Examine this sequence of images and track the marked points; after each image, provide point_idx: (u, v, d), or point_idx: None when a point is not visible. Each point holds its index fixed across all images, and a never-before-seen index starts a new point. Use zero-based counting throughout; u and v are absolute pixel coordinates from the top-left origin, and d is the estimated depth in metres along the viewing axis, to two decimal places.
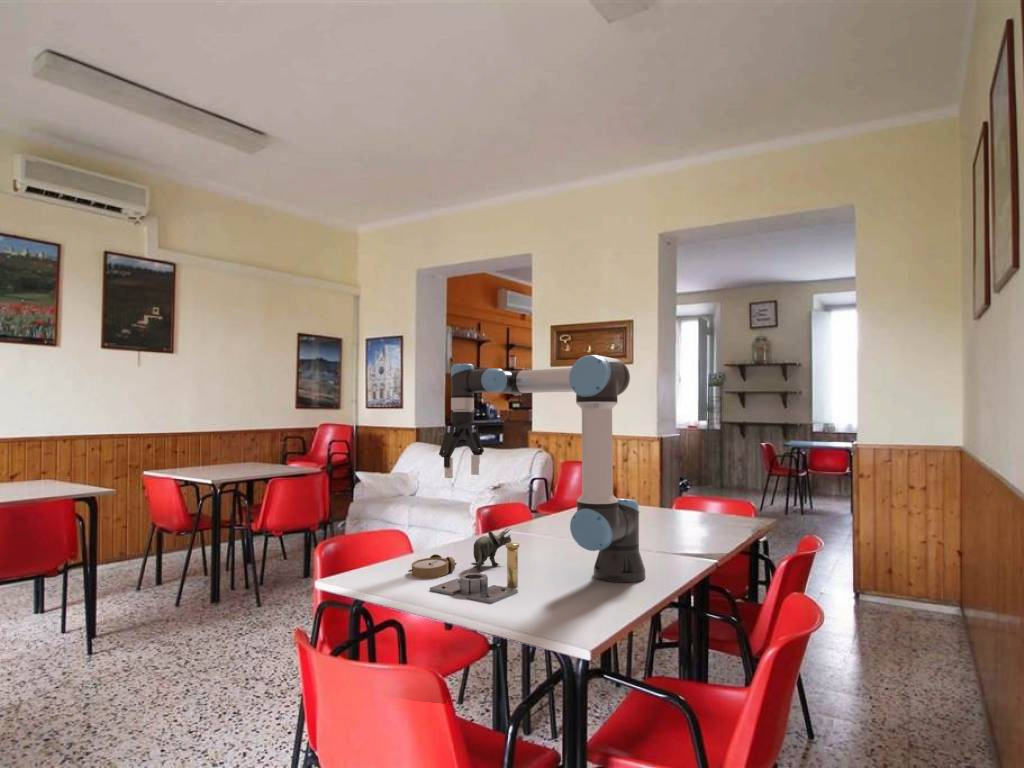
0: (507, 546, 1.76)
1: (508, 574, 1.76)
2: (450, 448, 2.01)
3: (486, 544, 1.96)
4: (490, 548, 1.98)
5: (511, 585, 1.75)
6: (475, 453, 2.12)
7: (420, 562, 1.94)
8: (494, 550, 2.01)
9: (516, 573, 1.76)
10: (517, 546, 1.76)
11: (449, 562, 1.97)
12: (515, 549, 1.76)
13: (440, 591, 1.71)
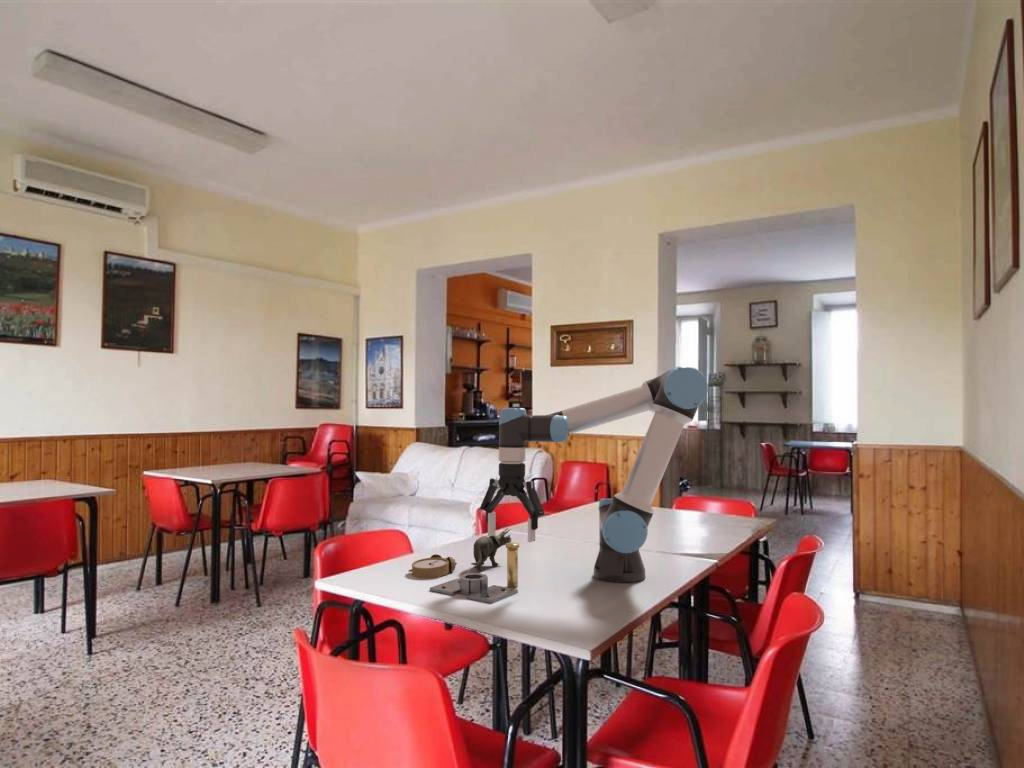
0: (507, 546, 1.76)
1: (508, 574, 1.76)
2: None
3: (486, 544, 1.96)
4: (490, 548, 1.98)
5: (511, 585, 1.75)
6: None
7: (420, 562, 1.94)
8: (494, 550, 2.01)
9: (516, 573, 1.76)
10: (517, 546, 1.76)
11: (449, 562, 1.97)
12: (515, 549, 1.76)
13: (440, 591, 1.71)
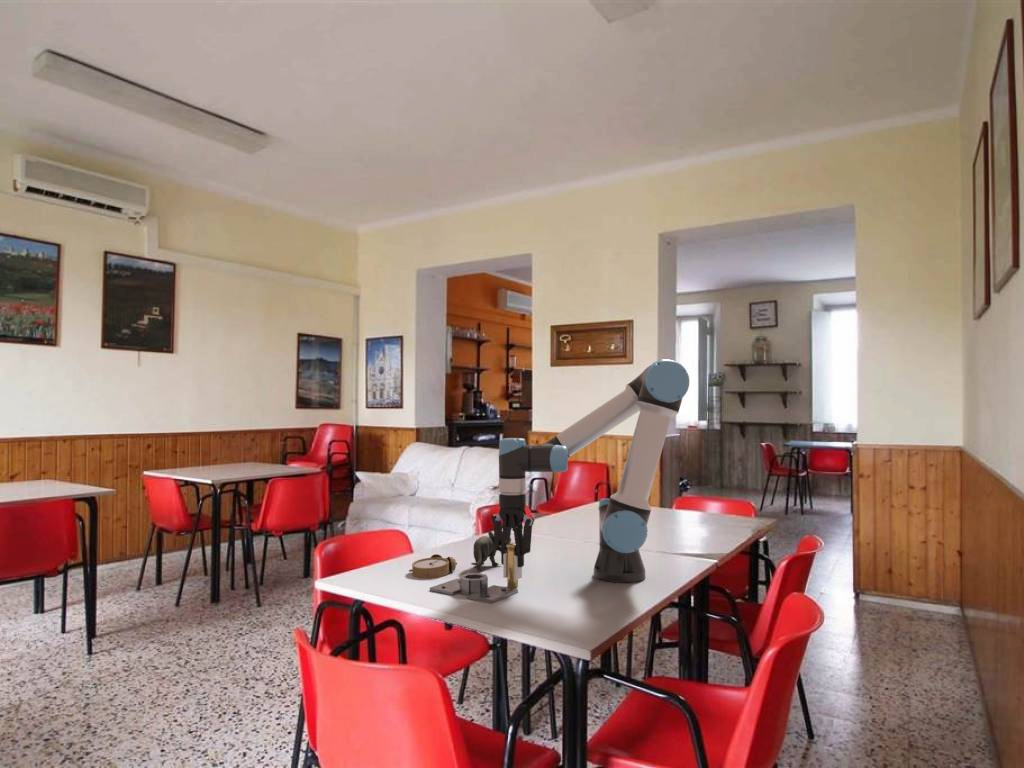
0: (507, 546, 1.76)
1: (508, 574, 1.76)
2: None
3: (486, 544, 1.96)
4: (490, 548, 1.98)
5: (512, 585, 1.75)
6: None
7: (421, 562, 1.95)
8: (494, 550, 2.01)
9: None
10: None
11: (450, 562, 1.97)
12: (515, 549, 1.76)
13: (440, 591, 1.71)
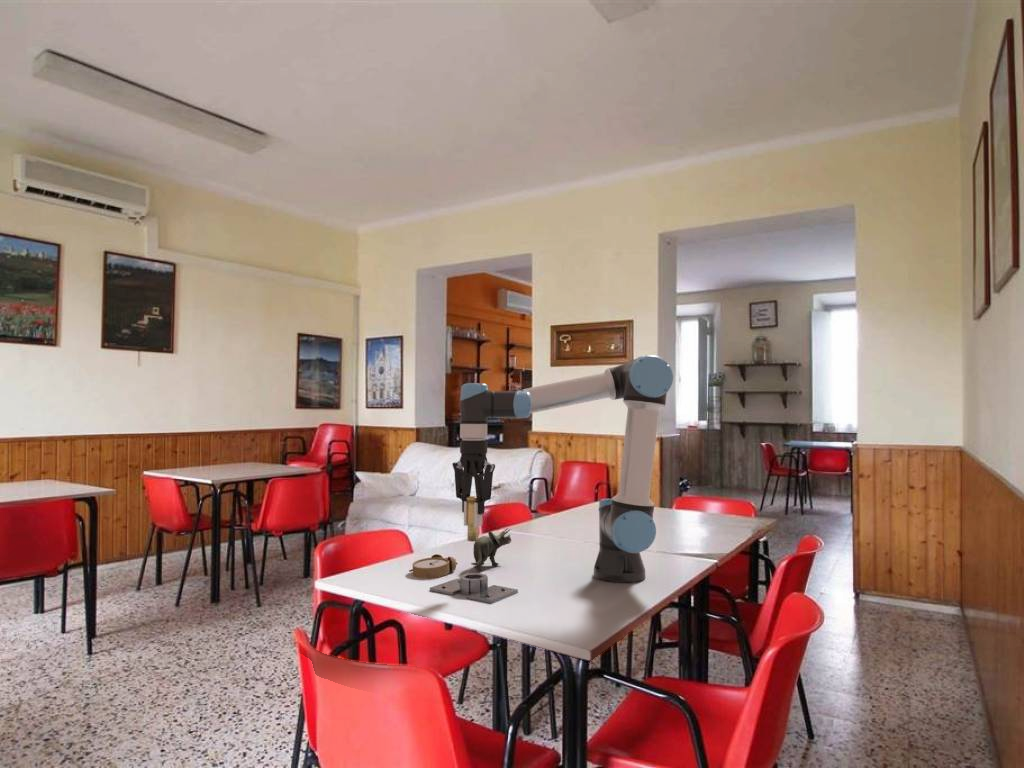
0: (467, 499, 1.72)
1: (468, 527, 1.72)
2: None
3: (486, 544, 1.96)
4: (490, 548, 1.98)
5: (471, 539, 1.71)
6: None
7: (421, 562, 1.95)
8: (494, 550, 2.01)
9: None
10: None
11: (450, 562, 1.97)
12: None
13: (440, 591, 1.71)
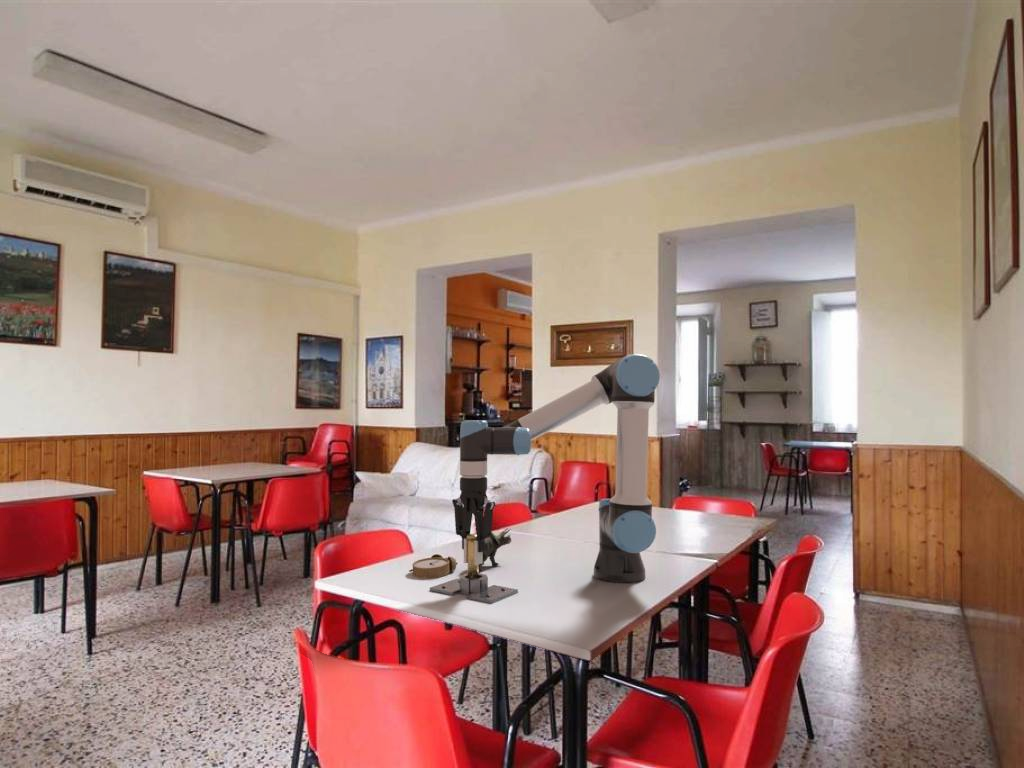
0: (467, 537, 1.72)
1: (468, 566, 1.71)
2: None
3: (486, 544, 1.96)
4: (490, 548, 1.98)
5: (472, 577, 1.71)
6: None
7: (421, 562, 1.95)
8: (494, 550, 2.01)
9: (477, 565, 1.71)
10: None
11: (450, 562, 1.97)
12: None
13: (440, 591, 1.71)
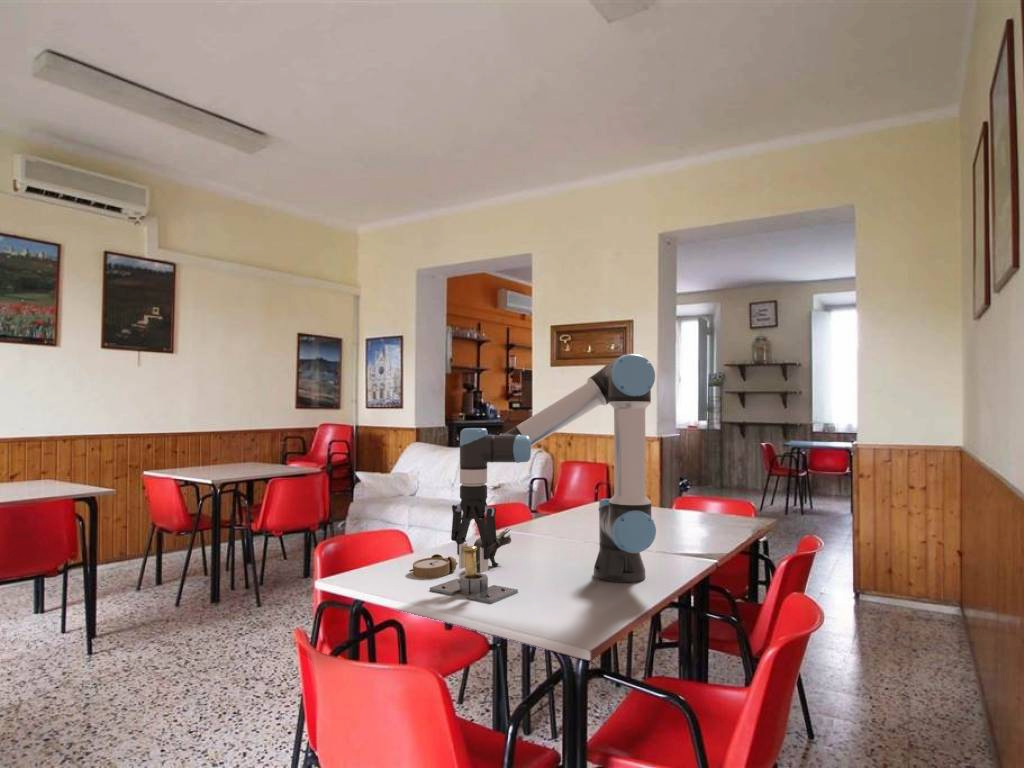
0: (464, 549, 1.72)
1: None
2: None
3: None
4: (490, 548, 1.98)
5: None
6: None
7: (421, 562, 1.95)
8: (494, 550, 2.01)
9: (475, 577, 1.72)
10: (474, 549, 1.72)
11: (450, 562, 1.97)
12: (473, 552, 1.72)
13: (440, 591, 1.71)
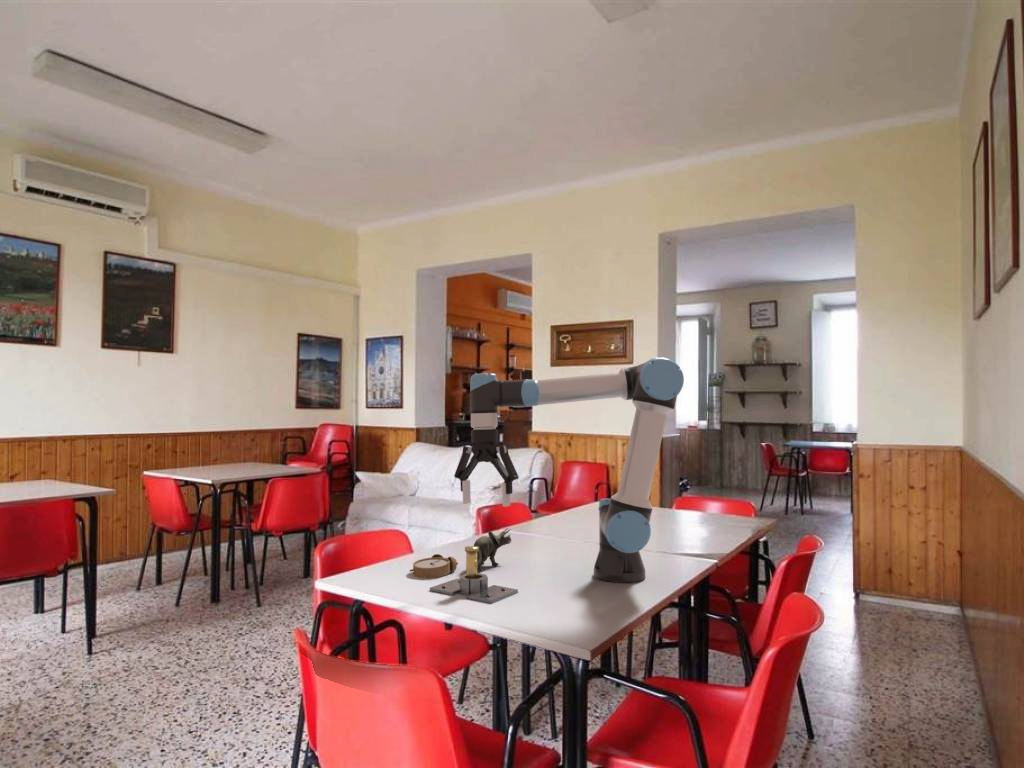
0: (466, 549, 1.72)
1: None
2: None
3: (486, 544, 1.96)
4: (490, 548, 1.98)
5: None
6: None
7: (422, 562, 1.95)
8: (494, 550, 2.01)
9: (475, 577, 1.72)
10: (476, 549, 1.72)
11: (450, 562, 1.97)
12: (474, 553, 1.72)
13: (440, 591, 1.71)
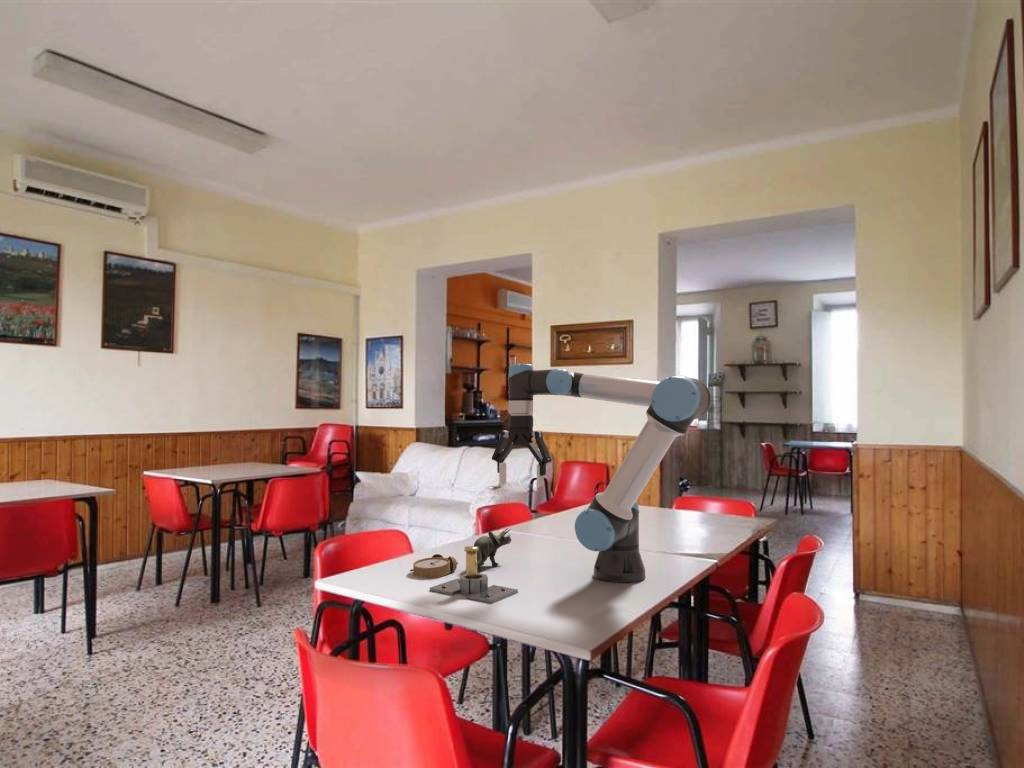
0: (466, 550, 1.72)
1: None
2: None
3: (486, 544, 1.96)
4: (490, 548, 1.98)
5: None
6: None
7: (422, 562, 1.95)
8: (494, 550, 2.01)
9: (475, 577, 1.72)
10: (476, 549, 1.72)
11: (451, 562, 1.97)
12: (474, 553, 1.72)
13: (440, 591, 1.71)
